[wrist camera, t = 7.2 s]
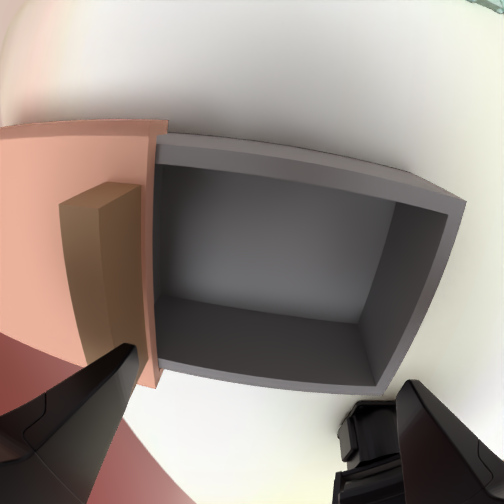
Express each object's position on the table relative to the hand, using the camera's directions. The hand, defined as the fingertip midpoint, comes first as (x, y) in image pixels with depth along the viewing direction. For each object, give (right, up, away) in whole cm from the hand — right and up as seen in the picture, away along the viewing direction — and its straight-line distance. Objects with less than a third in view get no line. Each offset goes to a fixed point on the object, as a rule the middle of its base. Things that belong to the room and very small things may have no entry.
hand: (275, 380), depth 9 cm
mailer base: (+1, +5, +11) cm, 12 cm away
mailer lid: (-13, +4, +6) cm, 15 cm away
